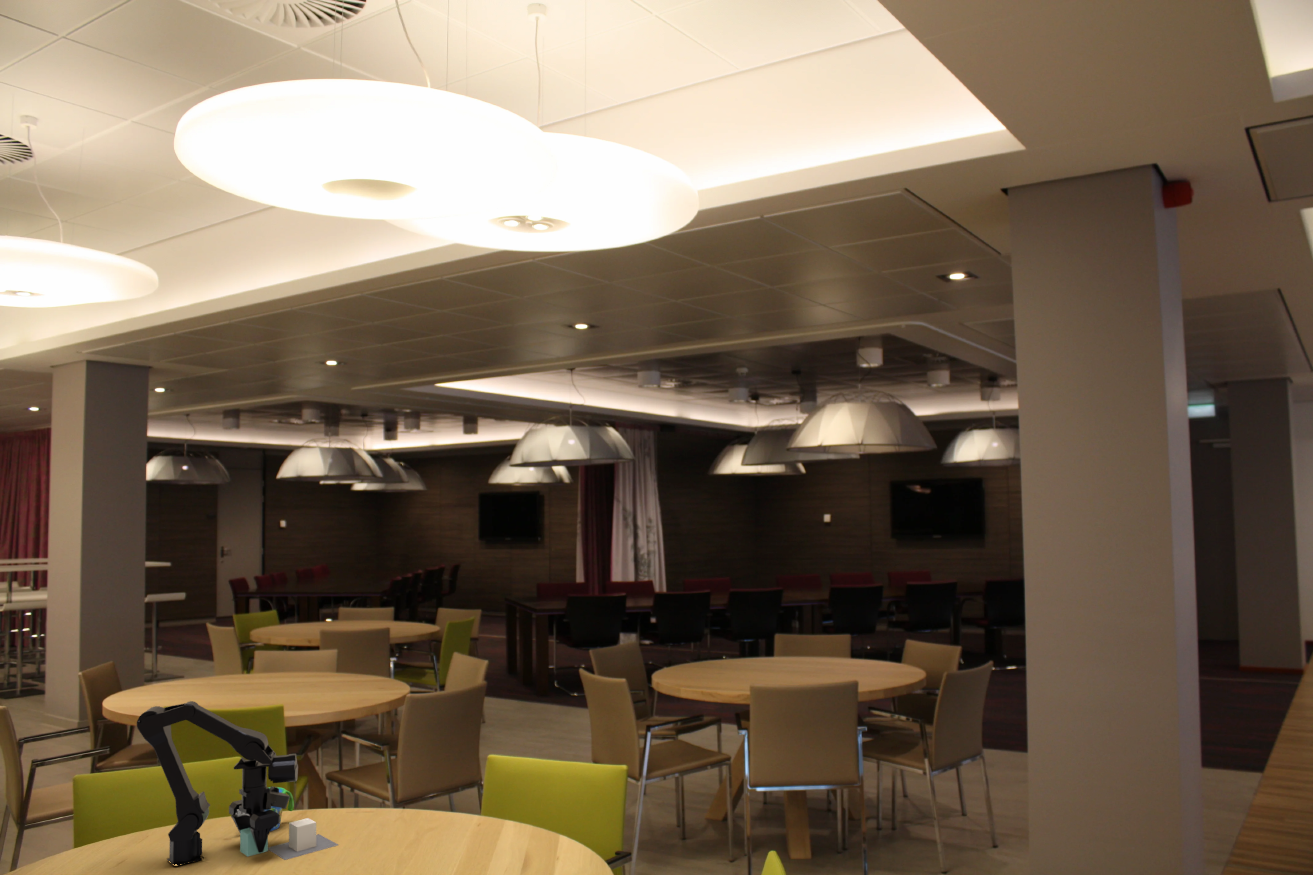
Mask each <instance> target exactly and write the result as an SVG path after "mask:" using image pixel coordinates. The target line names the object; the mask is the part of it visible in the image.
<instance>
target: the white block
mask: <svg viewBox="0 0 1313 875" xmlns="http://www.w3.org/2000/svg"><path fill="white" fill-rule="evenodd" d="M316 835H317V822H316V821H314V820H313V819H311V818H309V817H306V818H302V819H299V820H294V821H291V822H288V842H289V847H290V848H292V849H294V850H295V851H301V850H304V849H308V848H312V847H315V846H316Z"/></svg>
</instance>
